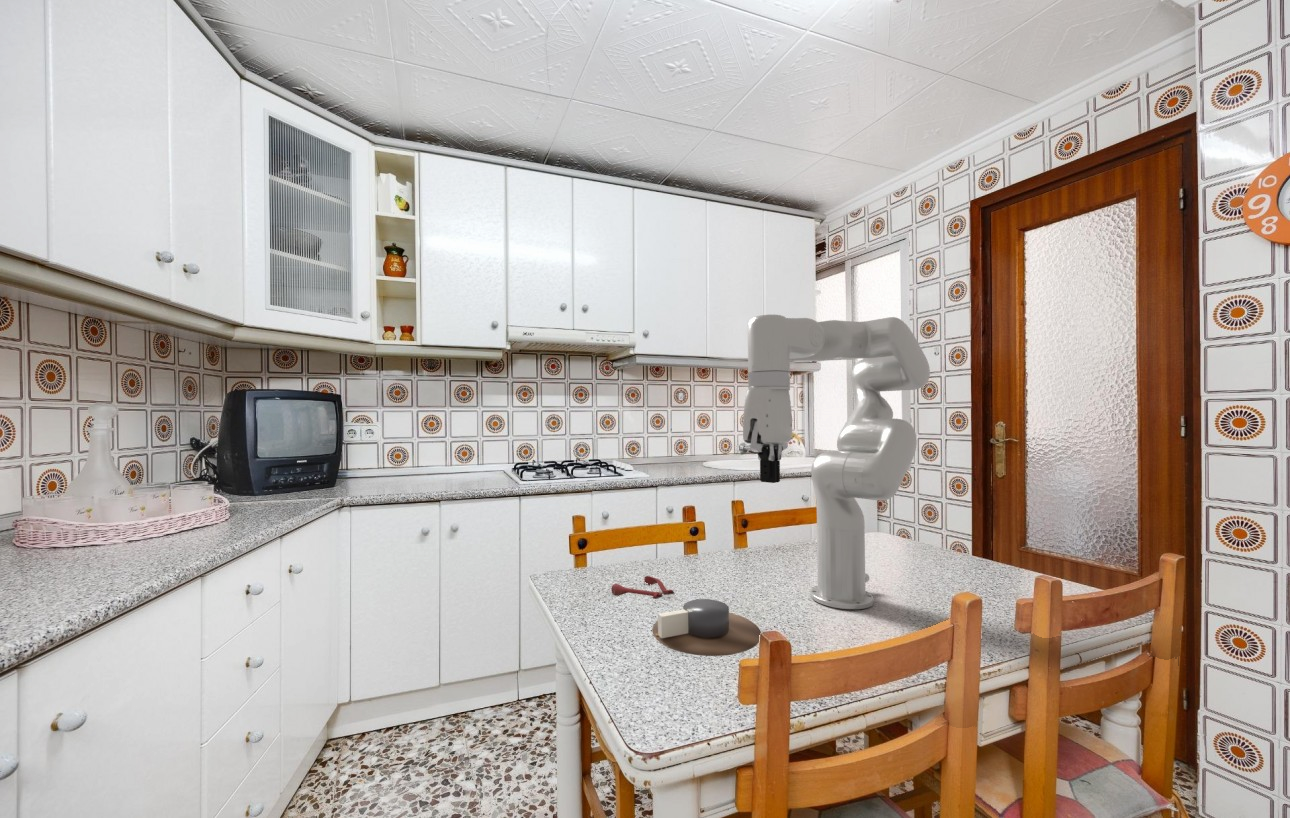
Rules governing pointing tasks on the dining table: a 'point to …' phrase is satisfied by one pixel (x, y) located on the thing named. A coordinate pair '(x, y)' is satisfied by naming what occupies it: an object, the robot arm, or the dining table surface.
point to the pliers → (621, 590)
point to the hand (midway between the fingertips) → (770, 481)
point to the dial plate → (716, 639)
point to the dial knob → (696, 619)
